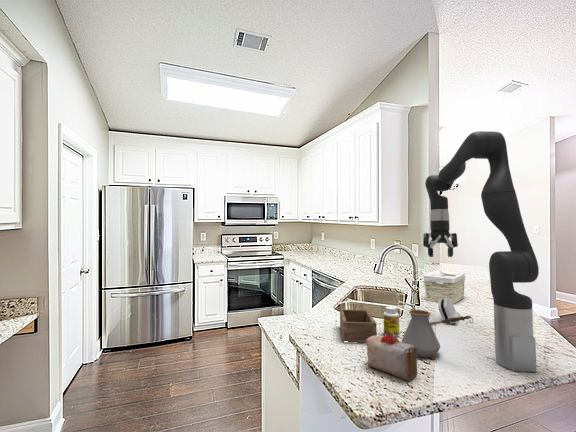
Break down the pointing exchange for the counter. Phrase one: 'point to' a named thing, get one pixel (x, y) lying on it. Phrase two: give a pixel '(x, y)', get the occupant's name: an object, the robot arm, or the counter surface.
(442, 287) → the storage basket
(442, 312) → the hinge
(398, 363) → the food item
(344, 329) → the open box
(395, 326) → the supplement bottle
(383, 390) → the counter surface
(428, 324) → the coffee pot
